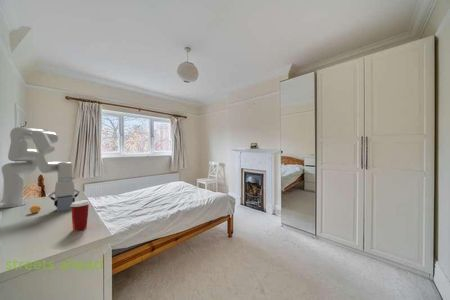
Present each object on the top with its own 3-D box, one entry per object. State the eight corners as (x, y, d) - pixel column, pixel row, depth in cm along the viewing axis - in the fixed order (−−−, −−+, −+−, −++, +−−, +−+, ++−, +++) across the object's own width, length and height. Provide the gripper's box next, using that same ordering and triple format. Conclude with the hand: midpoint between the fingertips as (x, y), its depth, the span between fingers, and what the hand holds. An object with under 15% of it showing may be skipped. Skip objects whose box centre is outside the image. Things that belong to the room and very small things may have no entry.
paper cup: (92, 226, 96) (93, 200, 96) (79, 232, 88) (80, 204, 89) (79, 225, 97) (80, 199, 97) (65, 231, 89) (66, 203, 89)
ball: (29, 212, 116) (29, 205, 116) (40, 211, 119) (40, 203, 119) (29, 214, 112) (29, 206, 112) (40, 212, 116) (40, 205, 116)
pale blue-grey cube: (56, 209, 123) (56, 196, 123) (71, 206, 129) (71, 194, 129) (57, 211, 118) (57, 198, 118) (72, 209, 123) (72, 196, 123)
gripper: (80, 177, 132) (79, 201, 132) (47, 180, 120) (46, 206, 119) (81, 179, 127) (81, 203, 127) (47, 182, 114) (47, 209, 114)
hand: (64, 204), depth 123 cm, fingers closed on pale blue-grey cube, 7 cm apart
